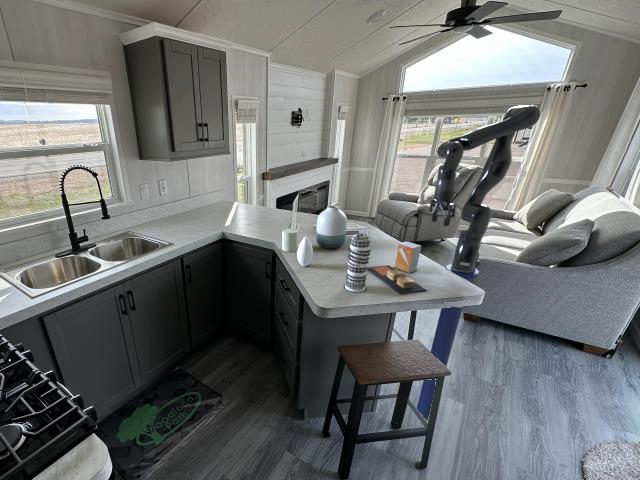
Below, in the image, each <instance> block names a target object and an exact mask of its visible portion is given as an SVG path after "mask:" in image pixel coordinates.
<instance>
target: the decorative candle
mask: <svg viewBox="0 0 640 480" xmlns="http://www.w3.org/2000/svg"><path fill="white" fill-rule="evenodd" d="M350 240H351V241H350V244H349V246H348V248H347V249H348V252H347V264H348V268H347V272H346V275H345V289H346V290H348V291H350V292H354V293H361V292H364V291H365V289H366V283H367V281H366V280H367V275H368V274H367V268H368V265H369V262H370V261H369V260H370V256H371V251H372V250H371V249H370V244H371V240H372V238H371V237H370V236H369V234H367V233H365V232H357V233H354V234H353V235H352V236H350Z"/></svg>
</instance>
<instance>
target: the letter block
mask: <svg viewBox="0 0 640 480" xmlns="http://www.w3.org/2000/svg"><path fill="white" fill-rule="evenodd" d="M414 283H416V282H415V280H414V279H412V278H410V277H409V276H406V277H399V278H398V279H397V284H398V285H399V286H401V287H402V288H411V287H414Z"/></svg>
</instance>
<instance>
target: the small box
mask: <svg viewBox="0 0 640 480" xmlns="http://www.w3.org/2000/svg"><path fill="white" fill-rule="evenodd" d="M421 249H422V245H420V244H417V243H414V242H410V241H403V242H401V243H398V247H397V251H396V258H395V264H394V269H397V270H399V271H403V272H405V273H408V274H410V273H412V272H415V271H417V269H418V266H419V265H418V264H419V258H420V254H421Z"/></svg>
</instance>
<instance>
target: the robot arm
mask: <svg viewBox="0 0 640 480" xmlns="http://www.w3.org/2000/svg"><path fill="white" fill-rule="evenodd" d="M541 113H542V112H541V109H540V107H538V106H536V105H533V104H532V105H530V104H529V105H517V106H513V107H511V108H509V109H508V110H507V111H506V112H505V114H504V115H503V117H502V120H501V121H498V122H495V123H492V124H488V125H485V126H481V127H479V128H476V129H474V130H472V131H469V132H468V133H465V134H463V135H461V136H457V137H453V138H451V139H449V140H446V141H443V142H442V143H441V144H439V146H438V147H437V149H436V154H437V155H436V156H437V157H438V158H441V159H445V161H444V164H441V165H439V167H438V168H437V169H438V170H437V178H436V182H435V187H434V195H433V199H430V203H429V210H428V211H429V213H431V222H432V223H437V221H438V216H439V215H438V214H439V212H441V214H442V215H443V217H444V218H443V219H444V220H443V227H449V226H450V223H451V219H452V218H455V216H456V207H457V204H456V203H451V201H452V200H453V199H454V195H455V189H456V179H457V171H458V167H459V165H460V163H461V160H462V158H463V156H464V153H465V152H468V151H471V150H473V149H476V148H479V147H480V146H483V145H485V144H488V143H489V142H491V141H494V143H493V145H492V148H491V150H490V152H489V155H488V157H487V159H486V161H485V163H484V164H483V167H482V170H481V172H480V174H479V176H478V178H477V181H476V183H475V185H474V186H473V189H472V190H471V193H470V195H469V196H468V197H467V200H466V201H465V203H464V205H463V207H462V209H461V211H460V218H461V220H463V221H464V222H466V223H469V226H468V228H464V229H461V230H460V231H459V235H458V240H457V242H456V243H457V244H456V247H455V250H454V251H455V252H454V256H453V260H452V263H451V264H452V266H451V268H452V269H453V270H455V271H457V272H461V273H472V272H473V271H475V269H477V267H479V266H480V264H481V260H480V259H479V257H480V252H479V251H480V247H481V244H482V240H483V237H484V235H485V234H486V232H487V230H488V227H489V224H490V222H491V218H492V213H493V212H492V209H491V207H489V206H487V205H485V204H483V202H484V200H485V198H486V196H487V195H488V193H490V191H492V190H493V189H494V188H495V187H496V186H497V185H499V184H500V183H502V181H503V180H504V179H505V177H506V175H507V173H508V172H509V169H510V167H511V165H512V161H513V153H512V142H513V139H514V137H515V135H516V133H517V132H519V131H523V130H527V129H530V128H531V127H533V126H535V125H536V124H537V123H538V122H539V120H540V118H541Z"/></svg>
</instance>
